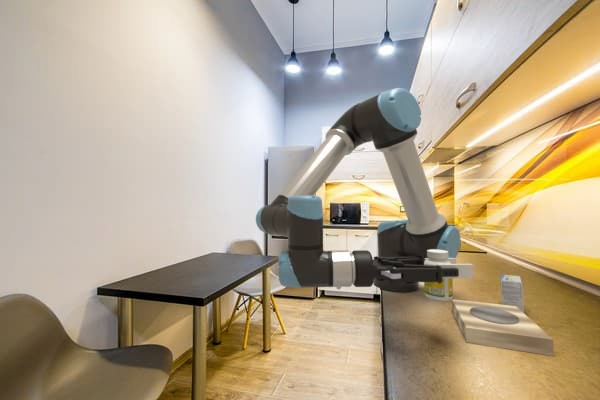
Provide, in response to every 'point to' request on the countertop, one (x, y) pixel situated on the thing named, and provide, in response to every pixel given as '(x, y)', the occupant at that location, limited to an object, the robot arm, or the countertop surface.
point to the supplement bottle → (436, 289)
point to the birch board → (500, 327)
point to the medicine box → (512, 291)
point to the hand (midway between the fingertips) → (462, 267)
